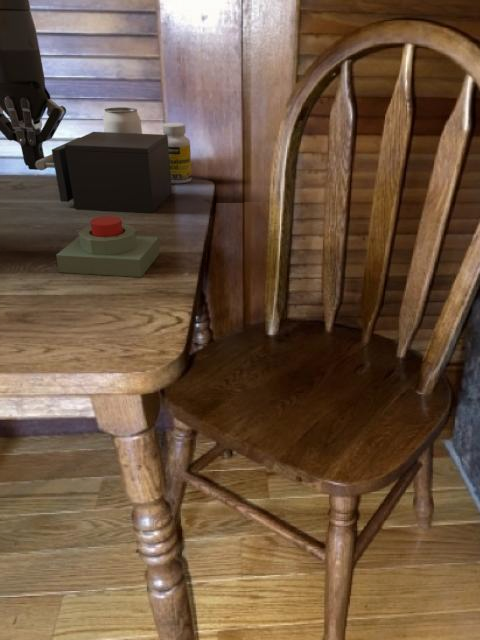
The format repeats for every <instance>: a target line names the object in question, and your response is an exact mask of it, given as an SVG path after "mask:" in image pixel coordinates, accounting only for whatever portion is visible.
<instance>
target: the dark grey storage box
mask: <svg viewBox="0 0 480 640" xmlns="http://www.w3.org/2000/svg"><path fill="white" fill-rule="evenodd" d="M77 138H78V137H77ZM75 139H76V138H75ZM73 140H74V139H73ZM71 141H72V140H71ZM69 142H70V141H69ZM64 144H65V143H64ZM65 150H66V156H67V162H68V168H69V174H70V180H71V186H72V192H73V203H74V209H75V210H86V211H106V212H127V213H143V214H144V213H146V214H154V213H155V212H156V211H157V210H158V209H159V208H160V207H161V206H162V205H163V204H164V203H165V201H166V200H168V198H170V196H172V194H173V189H172V183H171V174H170V161H169V148H168V136H167V135H165V134H158V133H157V134H156V133H142V134H137V133H113V132H105V131H92V132H90V133H87V134H85V135H83V136H80V138H78V139H76V140H74V141H72V142H70V143H68V144H65Z"/></svg>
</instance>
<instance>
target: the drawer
mask: <svg viewBox="0 0 480 640" xmlns="http://www.w3.org/2000/svg"><path fill="white" fill-rule="evenodd" d="M78 138H81V136H80V137H76V138H74V139H72V140H70V141H67V142H65V143H63V144H61V145H59V146H56V147H54V148H52V149H51V154H49V155H47V156H44V158H42V159H40V160H38V161H36V163H35V166H36V168H37V169H38V170H37V171H44V170H46V169H48V168H49V169H50V168H51V169H54V172H55V176H56V177H55V178H56V184H57V187H58V193H59V199H60V200H59V201H60V202H62V203H68V202H70V201H71V200H74V198H73V192H72V186H71V180H70V174H69V168H68V162H67V156H66V150H65V144H68V143H70V142H72V141H74V140H76V139H78Z"/></svg>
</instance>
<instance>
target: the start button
mask: <svg viewBox="0 0 480 640" xmlns="http://www.w3.org/2000/svg"><path fill="white" fill-rule="evenodd" d="M122 221H123V220H122V218H121V217H118V216H114V215H102V216H97V217H93V218H92V219H90V221H89V223H90V226H91V230H92V236H95V237H113V236H118V235H121V234H123V229H122V224H123V223H122Z"/></svg>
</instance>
